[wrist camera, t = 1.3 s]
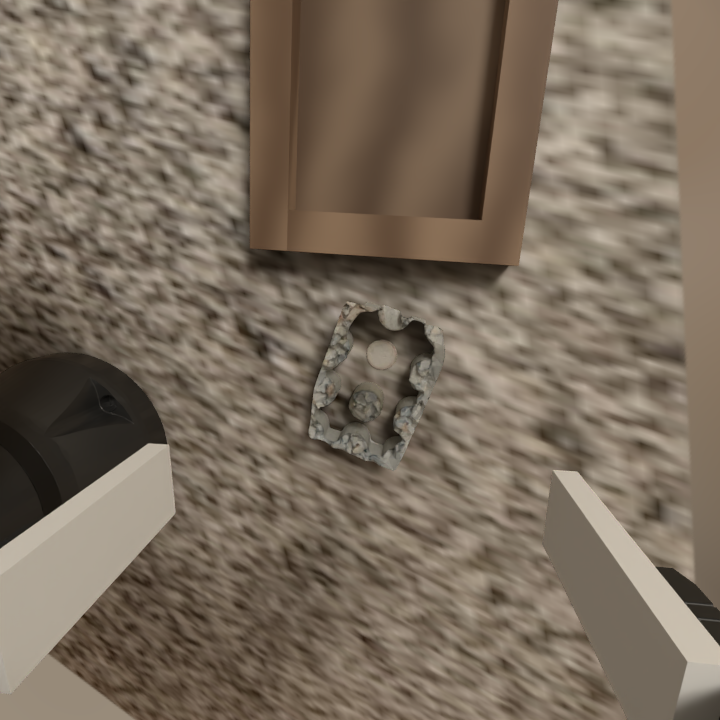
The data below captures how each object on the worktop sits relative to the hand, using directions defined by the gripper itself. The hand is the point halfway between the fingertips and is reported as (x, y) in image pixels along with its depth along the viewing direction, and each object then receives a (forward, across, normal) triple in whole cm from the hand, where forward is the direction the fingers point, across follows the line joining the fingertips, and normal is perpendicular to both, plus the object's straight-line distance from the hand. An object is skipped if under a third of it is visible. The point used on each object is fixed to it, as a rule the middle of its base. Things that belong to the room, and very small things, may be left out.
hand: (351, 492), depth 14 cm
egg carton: (+17, 0, -1) cm, 17 cm away
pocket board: (+17, 0, +17) cm, 24 cm away
